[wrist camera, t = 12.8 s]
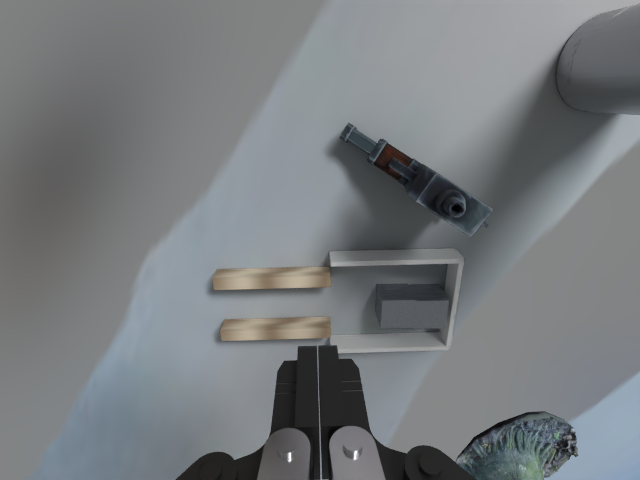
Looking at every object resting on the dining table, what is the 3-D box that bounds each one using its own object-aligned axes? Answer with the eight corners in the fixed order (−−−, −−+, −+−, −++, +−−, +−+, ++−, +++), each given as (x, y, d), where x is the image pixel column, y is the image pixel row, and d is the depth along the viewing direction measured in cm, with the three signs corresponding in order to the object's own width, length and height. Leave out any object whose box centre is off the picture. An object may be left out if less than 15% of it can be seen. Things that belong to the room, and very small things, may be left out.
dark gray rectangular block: (407, 283, 46) (416, 299, 42) (404, 309, 47) (412, 327, 44) (376, 283, 46) (382, 300, 42) (375, 310, 47) (380, 328, 44)
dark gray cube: (437, 283, 46) (449, 300, 42) (434, 309, 47) (444, 328, 44) (407, 284, 46) (415, 301, 42) (404, 310, 47) (412, 328, 44)
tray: (454, 248, 44) (464, 258, 41) (442, 335, 49) (450, 349, 46) (329, 251, 44) (330, 261, 41) (329, 338, 49) (331, 353, 46)
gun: (332, 104, 24) (517, 224, 24) (356, 121, 40) (467, 194, 40) (312, 138, 25) (491, 255, 25) (343, 142, 41) (452, 213, 41)
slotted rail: (329, 266, 44) (330, 276, 42) (329, 326, 48) (330, 337, 46) (217, 269, 44) (212, 278, 42) (225, 329, 48) (221, 340, 45)
